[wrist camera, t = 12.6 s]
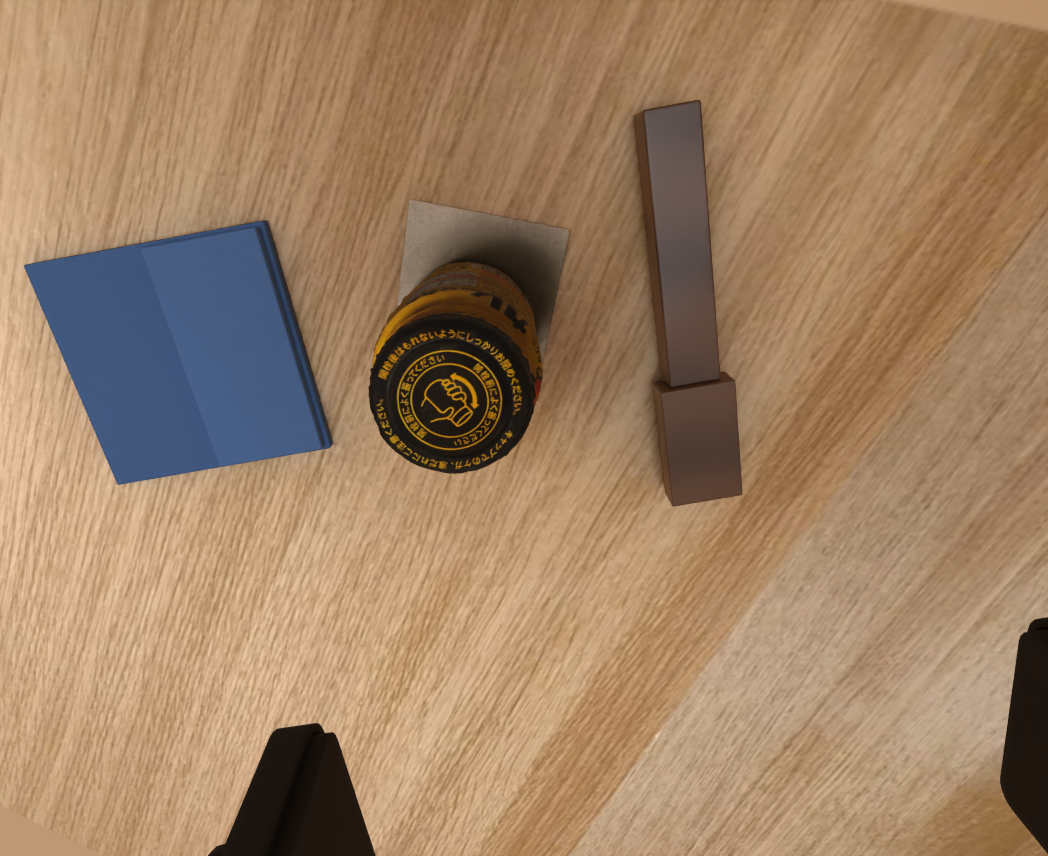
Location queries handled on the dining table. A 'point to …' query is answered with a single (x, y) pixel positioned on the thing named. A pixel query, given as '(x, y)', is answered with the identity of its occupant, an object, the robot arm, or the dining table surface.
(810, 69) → the dining table surface
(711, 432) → the brown bar
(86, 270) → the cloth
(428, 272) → the condiment
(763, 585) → the dining table surface
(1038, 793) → the robot arm
